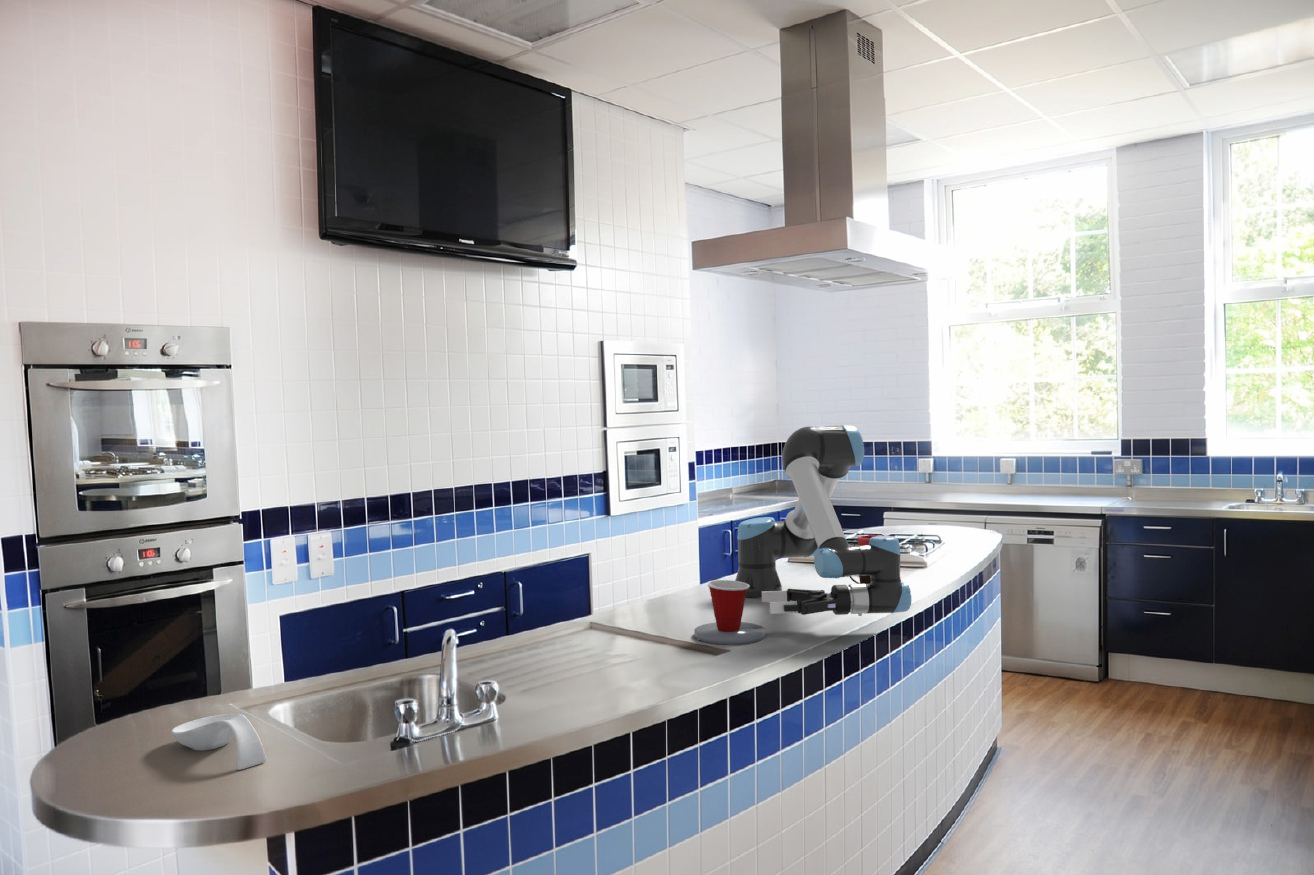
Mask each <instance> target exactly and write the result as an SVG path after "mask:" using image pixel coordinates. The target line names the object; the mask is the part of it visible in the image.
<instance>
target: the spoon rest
mask: <svg viewBox="0 0 1314 875" xmlns="http://www.w3.org/2000/svg"><path fill="white" fill-rule="evenodd" d="M170 733H171V736H172V737H173V738H174V740H175V741H176V742H177V743H179V744H181V745H183V746H184V747H187V748H190V749H192V750H194V751H208V750H214V749H218V748H221V747H224V746H227V744H229V743H230V742H231V740H232V739H234V738H235V743H236V764H237V766H236V769H237V770H238V771H241V770H245V769H248V768H252V767H255V766H258V765H261V764H264V763H265V762H267V755H266V751H265V749H264V745H263V743H262V740H261V738H260V736H259V734H258V732H257V731H256V729H255V727H254V726H253V724H252V723H251V721H250V719H248V718H247V716H245V715H244V714H241V713H224V714H214V715H211V716H205V717H202V718H197V719H194V720H190V721H187V722H185V723H181V724H178V725H177V726H175V727H173V728H172V729H171V732H170Z"/></svg>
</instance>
